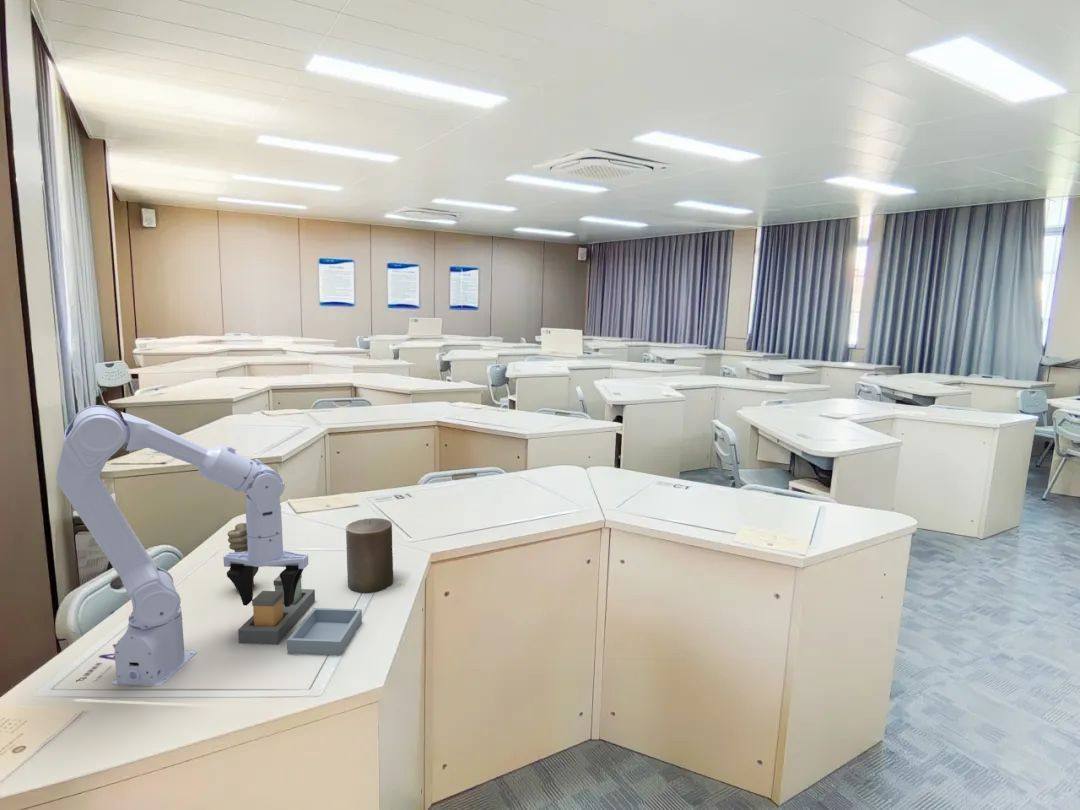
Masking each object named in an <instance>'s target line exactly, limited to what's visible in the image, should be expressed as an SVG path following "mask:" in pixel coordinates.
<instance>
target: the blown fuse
mask: <svg viewBox="0 0 1080 810" xmlns="http://www.w3.org/2000/svg"><path fill="white" fill-rule="evenodd" d="M282 597H283V591H275V590H261V592H259V593H258V594H257V595H256V596H255V597H254V598H253V600H252V601H251V605H252V607H253V610H252V611H253V615H254V626H273V627H276V626H277V625H278V624H279V623H280V622H281V620H282V619H283V599H282Z"/></svg>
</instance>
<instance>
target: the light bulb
mask: <svg viewBox="0 0 1080 810" xmlns="http://www.w3.org/2000/svg"><path fill="white" fill-rule="evenodd" d="M226 534H227V536H228V539H227V541H228V543H230V544H229V547H228V548H229V549H230V550H232V551H233V552H246V551H248V544H247V526H246V522H240V523H237V524H236V525H235V526H234V529H231V530H229V531H227V533H226ZM259 568H260V567H255V566H254V567H253V576H252V587H253V588H254V587H255V582H254V581H255V580H254V578H255V576H256V575H257V573H258V571H259Z"/></svg>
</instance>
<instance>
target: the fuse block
mask: <svg viewBox="0 0 1080 810" xmlns="http://www.w3.org/2000/svg"><path fill="white" fill-rule="evenodd" d="M315 602H316V590H315V588H314V589H311V588H309V589H308V588H302V598H301V600H300V601H299V602H298V603H297V604H296V605H290V606H289V607H285V604H283V619H282V620H281V622H280V623H279V624H278V625H277V626H276V627H273V626H254V614H253V615H251V616H250V617H249V619H248V620H247V621H246V622H244V623H243V624H242V625H241V626H240V628H239V629H237V633H238V634H237V635H238V644H246V645H247V644H249V645H252V644H253V645H279V644H280V643H281V642H282V640H284V639H285V638H286V636H288V634H289V632H291V630H292V629H293V628H295V625H296V624H297V623H298V622H299V621H300V620H301V619H302V617H303V616H304V615H305V614H306V613H307V611H308V610H309V609H310V608H311V607H312V606H313V604H315Z"/></svg>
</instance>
